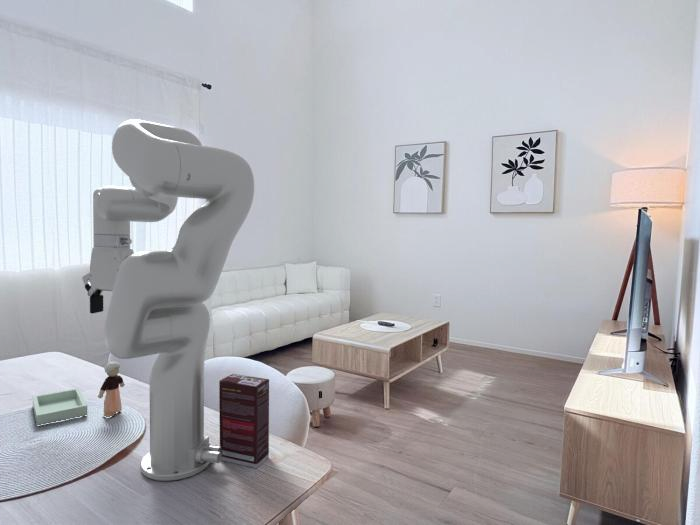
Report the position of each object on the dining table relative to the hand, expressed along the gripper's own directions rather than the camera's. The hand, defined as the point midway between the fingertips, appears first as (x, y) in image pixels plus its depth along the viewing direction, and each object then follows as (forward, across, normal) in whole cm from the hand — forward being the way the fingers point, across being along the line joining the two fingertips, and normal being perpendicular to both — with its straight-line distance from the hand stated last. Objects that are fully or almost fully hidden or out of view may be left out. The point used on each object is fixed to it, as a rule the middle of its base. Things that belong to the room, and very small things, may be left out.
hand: (112, 314), depth 103 cm
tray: (+24, +11, +5) cm, 27 cm away
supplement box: (+23, -41, +7) cm, 48 cm away
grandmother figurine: (+24, -1, +1) cm, 24 cm away
